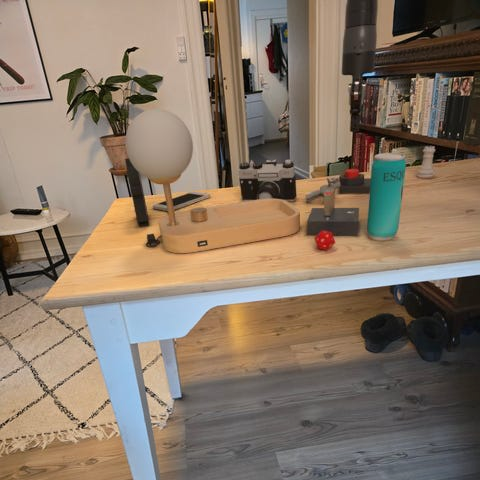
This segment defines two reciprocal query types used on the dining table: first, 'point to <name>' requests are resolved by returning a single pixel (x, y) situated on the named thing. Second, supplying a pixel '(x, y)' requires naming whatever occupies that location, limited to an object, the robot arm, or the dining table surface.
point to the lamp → (199, 219)
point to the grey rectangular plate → (329, 201)
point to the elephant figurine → (323, 189)
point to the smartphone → (183, 200)
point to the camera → (267, 180)
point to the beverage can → (385, 195)
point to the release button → (352, 173)
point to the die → (324, 240)
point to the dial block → (333, 221)
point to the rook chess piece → (427, 163)
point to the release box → (354, 184)
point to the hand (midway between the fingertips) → (354, 131)
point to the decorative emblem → (137, 194)
